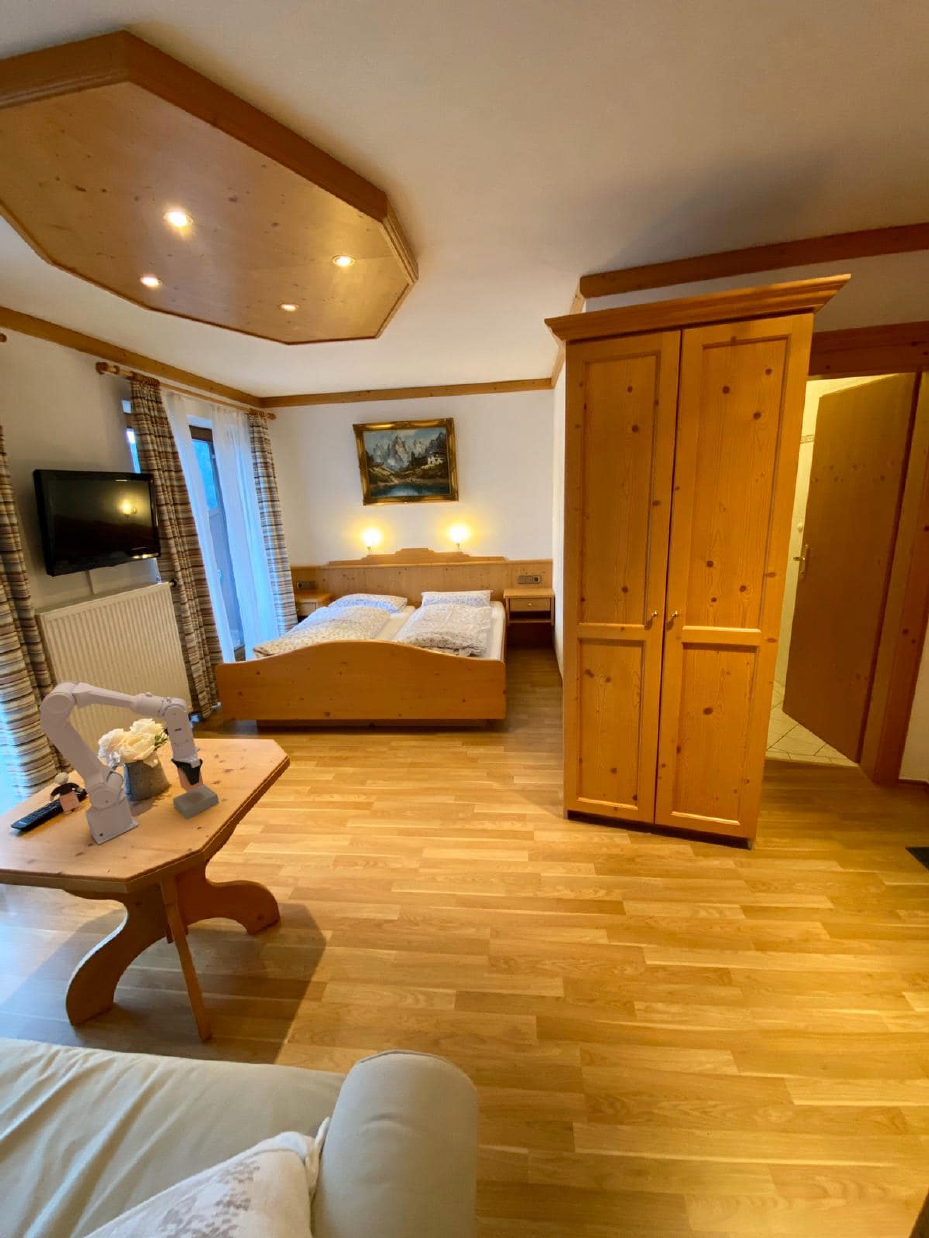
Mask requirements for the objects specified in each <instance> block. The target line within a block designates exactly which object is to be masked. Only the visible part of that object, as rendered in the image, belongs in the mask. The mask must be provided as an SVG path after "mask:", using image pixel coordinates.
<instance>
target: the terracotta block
mask: <svg viewBox="0 0 929 1238" xmlns="http://www.w3.org/2000/svg"><path fill="white" fill-rule="evenodd" d="M176 770H177V774H178V779H179V783H180V788H182V789H183V790H184V791H186V792H189V791H191V790H193V789H195V788H197V787H199V786H201V785H205V783H204V781H203V776H202V771H201V770H200V775H199V783H197V784H194V785H192V786H191V785H190V783H189V781H188V779H187V776H186V774H185V773H184V771H183V770H182V769H181V768H177V769H176Z"/></svg>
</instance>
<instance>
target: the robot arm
mask: <svg viewBox="0 0 929 1238" xmlns="http://www.w3.org/2000/svg"><path fill="white" fill-rule="evenodd" d="M92 704H94V705H95V704H97V705H101V706H103V705H104V706H109V707H110V706H111V707H119V708H125V709H129V710H131V711H130V712H131V713H132V714H134V715H140V716H144V717H145V716H146V717H150V718H151V717H152V718H156V719H162V720H163V721H164V723H166V725H167V728H166V729H167V733H168V736H169V737H168V739H169V742H170V747H171V752H172V758H171V759H170V762H172V763H173V764H174V765H175V767H176V768H177V769H178V768H181V769H182V770H183V771H184V773H185V774H186V776H187V779H188V781H189V783H190V785H191V786H192V785H194V784H197V783H199V775H200V771H201V768H202V765H203V764H204V761H203V759H202V758H199V754H198V752H200V751H201V747H200V746H196V743H195V739H194V735H193V734H194V733H193V730H192V729H193V728H192V725H191V721H190V719H189V714H188V703H187V701H186V700H185V699H184V698H181V697H179V696H173V697H170V696H167V697H163V696H158V695H153V694H152V692H150V691H146V692H145V693H143V692H141V693H138V694H136V695H133V694H128V693H127V694H126V693H123V692H119V691H115V690H110V689H107V688H103V687H99V686H94V685H92V684H89V683H86V682H79V683H78V682H77V681H73V680H63V681H61V682H59V683H58V684H56V685H55V686H54V688H53V689H52V690H51V691H50V693H49V694H47V695H46V696H45V697H44V698H43V700H42V702H41V704H40V705H39V707H38V709H39V712H40V714H39V715H40V716H39V720H40V721H39V722H40V723H39V727H40V729H41V731H42V732H43V734H44V735H45V736H46V737H47V738H48V739H49V741H50V742H51V743H52V745H54V746H55V748H56V749H57V750H58V751H59V753H61V755H62V756H63V757H64V758H65V759H66V761H67V762H68V764H70V765H71V767H72V768H73V769H74V770H75V771H76V772H77V774H78V775H79V776H80V777H81V779H82V780H83V785H84V790H85V792H86V793H87V795H88V798H89V803H90V805H91V807H90V808H89V809H86V810H85V811H84V815H85V819H86V821H87V825H88V828H89V833H90V835H91V836H92V838H93V839H94V840H95V842H96V844H98V845H101V844H103V843H105V842H107V841H109V840H112V839H113V838H116V837H118V836H120V835H122V834H124V833H126V832H128V831H130V830H132V829H135V828H136V827H138V826H139V823H138V822H137V820H136V819H135V818H134V817H133V815H132V813H131V812H132V811H131V810H130V805H129V801H128V798H127V793H126V792H125V791H124V790H123V789H122V787H123V785H124V784H125V778H124V776H123V775H122V774H121V772H118V771H115V770H114V769H113V768H112V767H111V766H110V765H104V763H103V762H102V761H101V760H100V759H99V757H98V756H97V755H96V754H95V752H94V751H93V750H92V748H91V747H90V746H89V745H88V743H87V742H86V741H85V740H84V739H83V737H82V736H81V735H80V734H79V732H78V731H77V730H76V729H75V727H74V726H73V725H72V723H71V722H70V721H69V719H70V717H71V714H72V711H73V709H74V708H75V706H77V710H80V709H83V708H85V707H89V706H91V705H92Z"/></svg>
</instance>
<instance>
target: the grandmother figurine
mask: <svg viewBox="0 0 929 1238" xmlns="http://www.w3.org/2000/svg"><path fill="white" fill-rule="evenodd" d="M53 781H54V784H57V786H56V787H55V788H54V789H52V791H51V793H50V794H49V795H50V796H49V802H53V801H54V800H55V797H56V796H58V795H59V801H60V804H61V807H62V809H63V813H64V815H70V814H71V813H72V812H73V810H74V812H78V811H80V810H81V809H82V808H83V806H84V805H83V804H81V803H80V801H79V798H78V796H77V793H76V792H75V790H77V791H78V792H79V793H82V792H83V791H84V789H83V788H82V787H81V786H80V784H78V783H75V782H72V781H71V782H69V775H68V773H67V772H66V771H64V772H59V773H58V774H57V775H55V777H54V780H53Z"/></svg>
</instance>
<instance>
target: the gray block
mask: <svg viewBox="0 0 929 1238" xmlns="http://www.w3.org/2000/svg"><path fill="white" fill-rule="evenodd" d="M172 801H173V806H174V808H175V809H176V810H177V812H179V813H180V815H182V816H183V817H185V819H187V820H188V819H190V818H192V817H195V816H196V815H198V814H200V813H202V812H204V811H206V810H208V809H210V808H212V807H214V806H216V805H218V804H220V801H219V797H218V793H216V792H215V791H214V790H212V789H211V788H210V787H208V786H207V785H206V784H204V785H201V786H199V787H197V788H195V789H193V790H191V791H189V792H187V791H186V792H184V793H182V794H180V795H178V796H176V797H174V798H172Z"/></svg>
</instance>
